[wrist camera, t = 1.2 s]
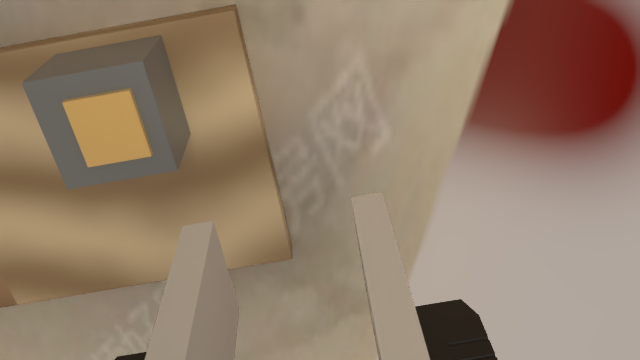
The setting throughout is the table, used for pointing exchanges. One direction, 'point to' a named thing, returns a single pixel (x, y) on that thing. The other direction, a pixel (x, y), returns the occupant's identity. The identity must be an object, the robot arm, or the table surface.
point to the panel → (142, 192)
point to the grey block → (110, 112)
